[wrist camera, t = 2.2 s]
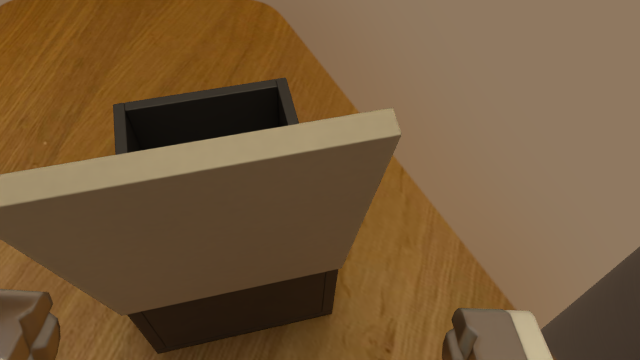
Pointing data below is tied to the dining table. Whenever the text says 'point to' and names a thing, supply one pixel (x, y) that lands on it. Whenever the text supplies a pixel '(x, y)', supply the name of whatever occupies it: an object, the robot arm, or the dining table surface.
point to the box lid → (202, 211)
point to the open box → (200, 124)
